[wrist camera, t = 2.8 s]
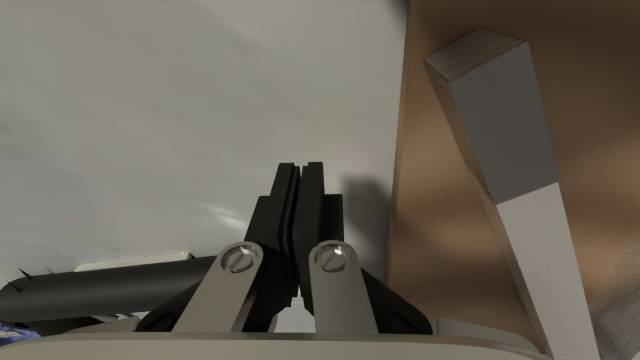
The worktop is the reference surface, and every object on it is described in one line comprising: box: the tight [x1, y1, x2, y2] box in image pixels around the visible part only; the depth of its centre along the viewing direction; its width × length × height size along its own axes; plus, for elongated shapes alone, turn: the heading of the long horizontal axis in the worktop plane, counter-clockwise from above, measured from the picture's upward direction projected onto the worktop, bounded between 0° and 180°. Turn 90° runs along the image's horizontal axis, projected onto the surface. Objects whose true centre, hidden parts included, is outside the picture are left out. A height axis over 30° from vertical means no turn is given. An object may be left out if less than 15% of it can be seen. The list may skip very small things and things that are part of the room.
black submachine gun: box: [0, 252, 217, 337], centre depth 23 cm, size 3×20×16 cm
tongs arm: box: [423, 27, 600, 360], centre depth 14 cm, size 20×2×3 cm, turn 31°
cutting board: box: [384, 0, 640, 354], centre depth 16 cm, size 25×15×2 cm, turn 3°
